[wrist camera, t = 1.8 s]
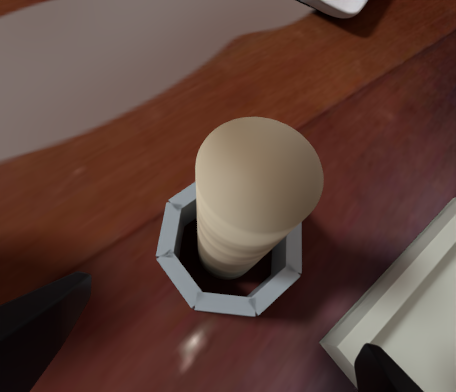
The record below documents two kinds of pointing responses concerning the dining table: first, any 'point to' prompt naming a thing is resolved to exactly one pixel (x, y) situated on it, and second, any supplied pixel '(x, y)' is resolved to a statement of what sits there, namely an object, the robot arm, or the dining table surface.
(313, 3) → the salad plate
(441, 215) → the sage tray
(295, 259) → the slate cup
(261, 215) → the maple dowel
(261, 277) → the dining table surface
